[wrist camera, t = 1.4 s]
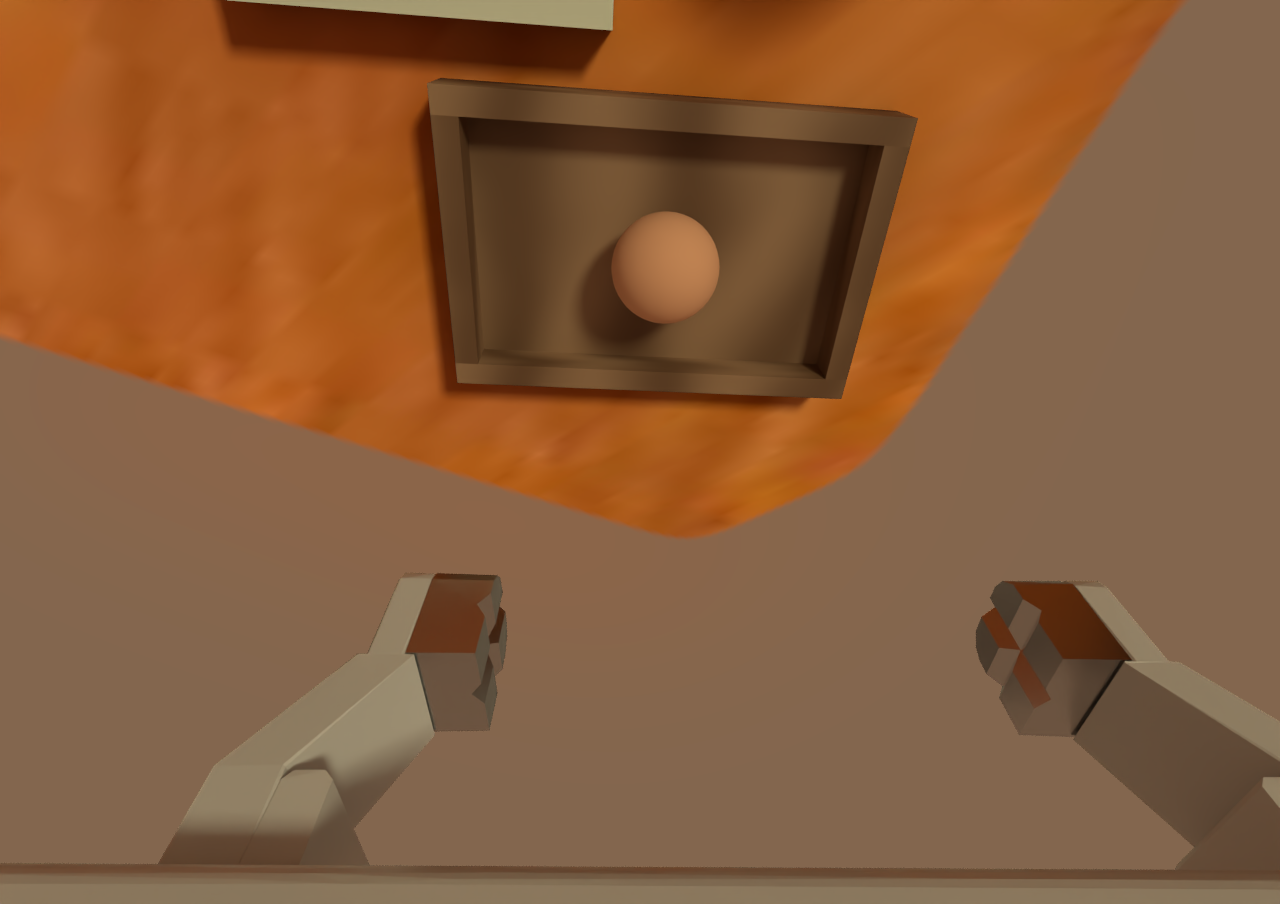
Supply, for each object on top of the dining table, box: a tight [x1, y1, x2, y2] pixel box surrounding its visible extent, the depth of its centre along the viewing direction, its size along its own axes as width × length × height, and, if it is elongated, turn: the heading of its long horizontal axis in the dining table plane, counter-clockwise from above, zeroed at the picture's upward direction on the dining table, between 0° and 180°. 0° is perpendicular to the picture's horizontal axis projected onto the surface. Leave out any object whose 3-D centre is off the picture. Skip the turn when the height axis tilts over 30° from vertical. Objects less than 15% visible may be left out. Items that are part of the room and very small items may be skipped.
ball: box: [611, 211, 720, 324], centre depth 27 cm, size 4×4×4 cm
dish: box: [427, 78, 918, 399], centre depth 28 cm, size 18×12×2 cm, turn 86°
